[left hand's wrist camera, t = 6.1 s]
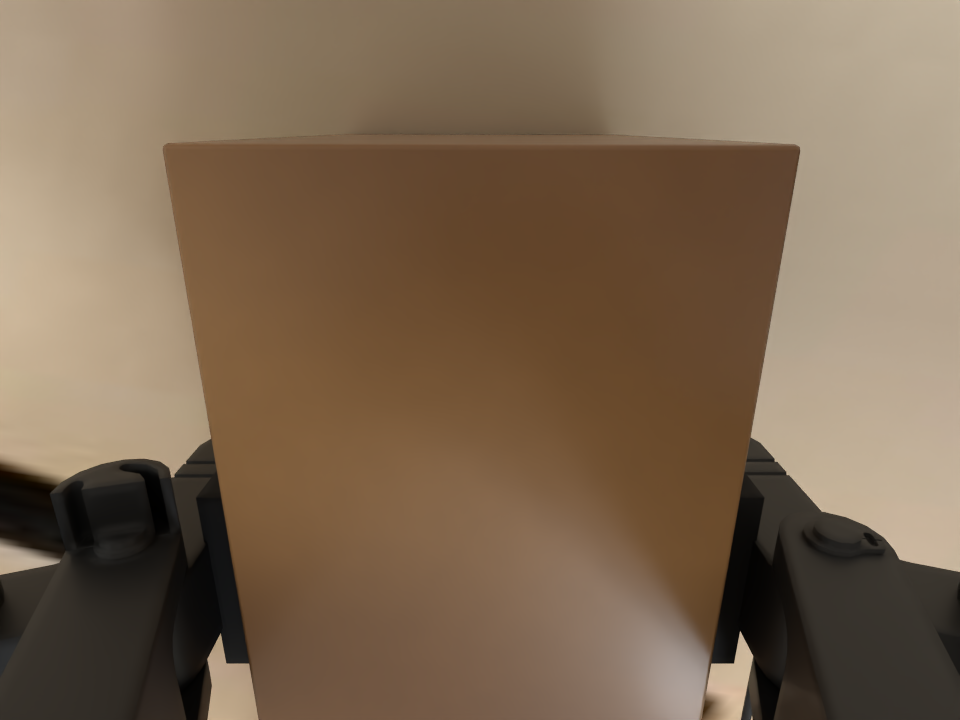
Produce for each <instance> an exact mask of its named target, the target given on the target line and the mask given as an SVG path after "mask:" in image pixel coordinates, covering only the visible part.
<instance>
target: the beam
mask: <svg viewBox="0 0 960 720" xmlns="http://www.w3.org/2000/svg"><path fill="white" fill-rule="evenodd" d="M163 154H164V160H165V165H166V171H167V177H168V183H169V189H170V195H171V201H172V207H173V213H174V219H175V225H176V231H177V237H178V243H179V249H180V255H181V261H182V266H183V272H184V278H185V284H186V290H187V296H188V302H189V308H190V314H191V320H192V326H193V332H194V338H195V344H196V350H197V356H198V362H199V368H200V373H201V379H202V385H203V391H204V397H205V403H206V409H207V415H208V421H209V427H210V433H211V439H212V445H213V451H214V457H215V463H216V469H217V474H218V480H219V486H220V492H221V498H222V504H223V510H224V516H225V522H226V528H227V534H228V540H229V546H230V552H231V558H232V564H233V570H234V576H235V581H236V587H237V593H238V599H239V605H240V611H241V617H242V623H243V629H244V635H245V641H246V647H247V653H248V659H249V665H250V671H251V677H252V682H253V688H254V694H255V700H256V706H257V712H258V718H259V720H701V719H702V713H703V707H704V701H705V696H706V690H707V684H708V678H709V673H710V667H711V661H712V655H713V650H714V644H715V638H716V632H717V626H718V621H719V615H720V609H721V603H722V598H723V592H724V586H725V580H726V575H727V569H728V563H729V557H730V552H731V546H732V540H733V534H734V529H735V523H736V517H737V511H738V506H739V500H740V494H741V488H742V483H743V477H744V471H745V465H746V460H747V454H748V448H749V442H750V437H751V431H752V425H753V419H754V413H755V408H756V402H757V396H758V390H759V385H760V379H761V373H762V367H763V362H764V356H765V350H766V344H767V339H768V333H769V327H770V321H771V316H772V310H773V304H774V298H775V293H776V287H777V281H778V275H779V270H780V264H781V258H782V252H783V247H784V241H785V235H786V229H787V224H788V218H789V212H790V206H791V200H792V195H793V189H794V183H795V177H796V172H797V166H798V160H799V154H800V147H799V146H797V145H794V144H775V143H756V142H737V141H719V140H700V139H681V138H662V137H643V136H624V135H436V134H343V135H323V136H303V137H283V138H263V139H243V140H224V141H204V142H184V143H168V144H166V145H164V146H163Z"/></svg>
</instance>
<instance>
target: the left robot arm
mask: <svg viewBox="0 0 960 720" xmlns="http://www.w3.org/2000/svg"><path fill="white" fill-rule="evenodd" d="M50 496H51V500H52V504H53V507H54V511H55V514H56V518H57V521H58V525H59V529H60V532H61V536H62V539H63V543H64V546H65V550H66V552H65V554H64V556H63V557H62V559H61V561H60V563H58V564H54V565H50V566H45V567H39V568H34V569H29V570H24V571H19V572H14V573H8V574H3V575H0V720H207V718H208V711H209V703H210V695H211V688H212V684H211V677H210V671H209V666H208V661H207V658H208V656H209V654H210V653H211V651H212V649H213V647H214V645H215V643H216V641H217V639H218V637H219V635H220V633H221V636H222V642H223V647H224V652H225V658H226V663H249V659H248V653H247V647H246V641H245V635H244V629H243V623H242V617H241V611H240V605H239V599H238V593H237V587H236V581H235V576H234V570H233V564H232V558H231V552H230V546H229V540H228V534H227V528H226V522H225V516H224V510H223V504H222V498H221V492H220V486H219V480H218V474H217V469H216V463H215V457H214V451H213V445H212V439H210V440H209V441H207V442H205V443H203V444H202V445H200V446H199V447H198V448H197V450H196V451H195V452H194V453H193V454H192V455H191V456H190V458H189V459H188V460H187V461H186V464H183V465H182V467H181V468H180V469H179V470H178V471H177V472H176V473H175V477H174V478H171V475H170V470H169V468H168V467H167V466H165V465H164V464H162V463H161V462H159V461H153V460H148V459H129V460H120V461H115V462H110V463H105V464H101V465H98V466H95V467H93V468H90V469H87V470H84V471H81V472H79V473H77V474H75V475H74V476H72V477H70V478H68V479H67V480H65V481H63V482H61V483H60V484H59V485H58V486H57V487H56V488H55V489H54V490H53V491H52V492H51V493H50ZM740 631H741V633H742V635H743V637H744V639H745V641H746V643H747V645H748V647H749V648H750V650H751V652H752V654H753V661H752V666H751V671H750V676H749V681H748V686H747V691H746V696H745V701H744V706H743V711H742V717H741V720H751V716H752V717H753V720H960V572H956V571H951V570H946V569H941V568H936V567H930V566H925V565H920V564H915V563H910V562H906V561H902V560H899V558H898V556H897V554H896V552H895V551H894V549H893V548H892V547H891V546H890V545H889V543H888V542H887V541H886V540H885V539H884V537H882V536H881V535H879V534H878V533H876V532H875V531H873V530H872V529H870V528H869V527H867V526H865V525H863V524H860V523H858V522H856V521H853V520H851V519H849V518H846V517H842V516H838V515H834V514H830V513H826V512H821V510H820V509H819V508H818V507H817V506H816V505H815V504H814V503H813V501H812V500H811V499H810V498H809V497H808V496H807V495H806V494H805V493H804V491H803V490H802V489H801V488H800V487H799V486H798V485H797V484H796V482H795V481H794V480H793V479H792V478H791V477H790V476H789V475H786V471H785V470H784V469H783V468H782V467H781V466H780V465H779V463H778V462H775V461H774V458H773V457H772V456H771V454H770V453H769V452H768V451H767V450H766V449H765V448H764V447H763V446H762V444H761V443H759V442H758V441H756V440H754V439H752V438H751V437H750V442H749V448H748V454H747V460H746V465H745V471H744V477H743V483H742V488H741V494H740V500H739V506H738V511H737V517H736V523H735V529H734V534H733V540H732V546H731V552H730V557H729V563H728V569H727V575H726V580H725V586H724V592H723V598H722V603H721V609H720V615H719V621H718V626H717V632H716V638H715V644H714V650H713V655H712V661H711V663H734V660H735V655H736V649H737V644H738V639H739V633H740Z"/></svg>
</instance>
